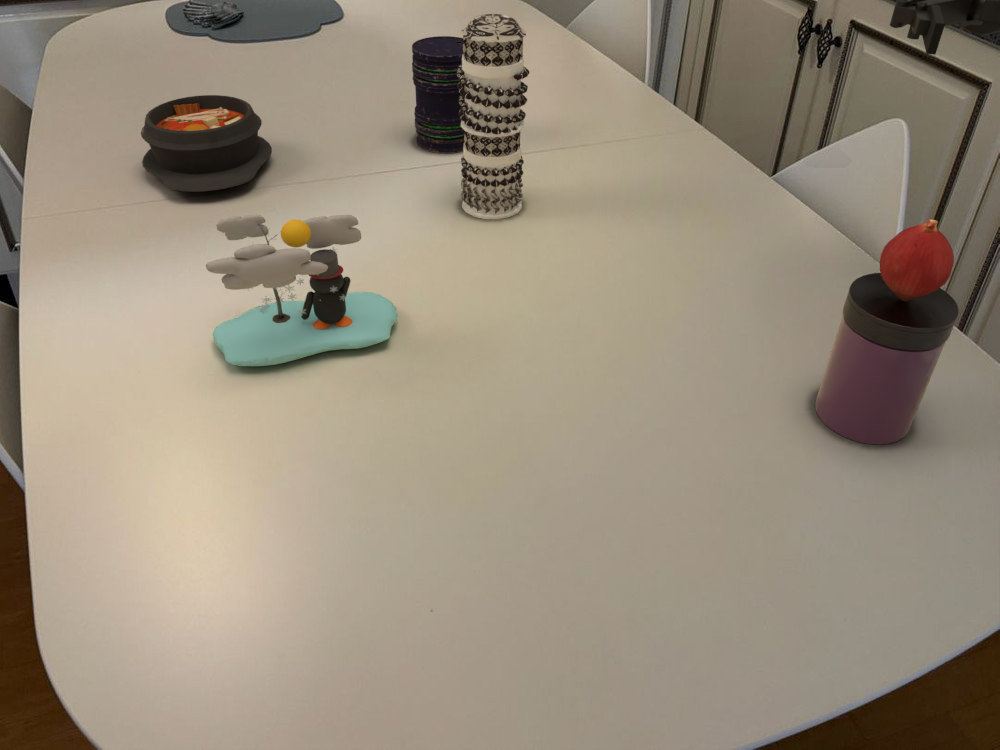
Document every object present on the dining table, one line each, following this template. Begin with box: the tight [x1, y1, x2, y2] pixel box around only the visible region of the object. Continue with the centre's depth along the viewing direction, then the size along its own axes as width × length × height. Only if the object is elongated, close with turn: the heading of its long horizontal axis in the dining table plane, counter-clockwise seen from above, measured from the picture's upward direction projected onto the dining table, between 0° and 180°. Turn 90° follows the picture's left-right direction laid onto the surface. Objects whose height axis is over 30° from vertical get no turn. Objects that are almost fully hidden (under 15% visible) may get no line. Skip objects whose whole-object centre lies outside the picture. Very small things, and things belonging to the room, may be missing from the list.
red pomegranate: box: [878, 218, 955, 301], centre depth 74 cm, size 6×6×8 cm
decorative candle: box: [457, 13, 530, 220], centre depth 112 cm, size 9×9×25 cm
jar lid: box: [842, 272, 960, 351], centre depth 77 cm, size 9×9×2 cm
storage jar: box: [411, 35, 465, 154], centre depth 133 cm, size 10×10×15 cm
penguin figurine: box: [205, 214, 398, 367], centre depth 89 cm, size 20×11×15 cm, turn 106°
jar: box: [814, 314, 946, 445], centre depth 81 cm, size 9×9×13 cm
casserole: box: [140, 94, 273, 193], centre depth 126 cm, size 25×19×8 cm
